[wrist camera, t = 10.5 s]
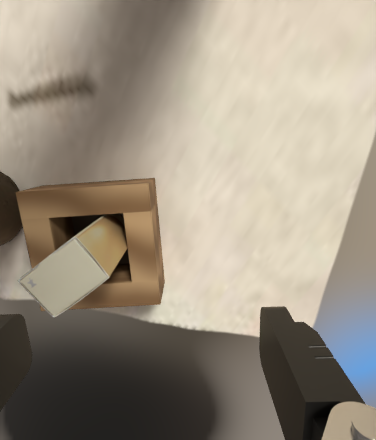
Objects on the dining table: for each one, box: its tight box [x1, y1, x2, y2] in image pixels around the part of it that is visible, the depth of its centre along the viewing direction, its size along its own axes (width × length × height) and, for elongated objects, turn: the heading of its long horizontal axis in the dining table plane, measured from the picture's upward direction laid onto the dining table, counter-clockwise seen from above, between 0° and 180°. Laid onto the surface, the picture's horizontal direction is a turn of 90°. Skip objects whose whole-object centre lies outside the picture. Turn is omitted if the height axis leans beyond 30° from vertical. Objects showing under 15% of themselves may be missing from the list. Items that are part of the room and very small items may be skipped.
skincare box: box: [18, 213, 128, 317], centre depth 28 cm, size 6×4×12 cm
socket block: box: [16, 178, 165, 311], centre depth 32 cm, size 13×13×5 cm
